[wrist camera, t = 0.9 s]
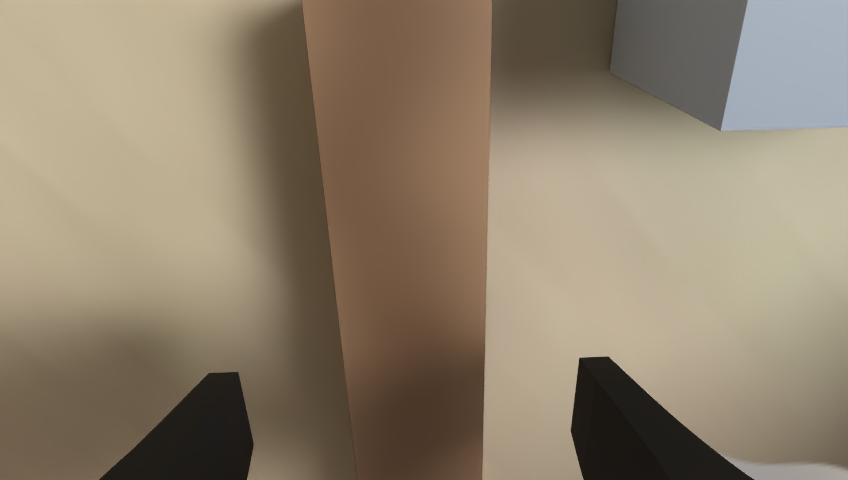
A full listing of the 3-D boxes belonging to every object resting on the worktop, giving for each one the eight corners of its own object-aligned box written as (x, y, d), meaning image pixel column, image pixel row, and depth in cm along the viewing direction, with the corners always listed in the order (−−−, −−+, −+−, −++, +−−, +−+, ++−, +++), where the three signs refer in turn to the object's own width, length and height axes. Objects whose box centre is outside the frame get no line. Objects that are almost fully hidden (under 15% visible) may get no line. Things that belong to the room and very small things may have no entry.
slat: (471, -18, 13) (492, -13, 9) (468, 487, 20) (479, 587, 16) (327, -14, 13) (301, -6, 9) (375, 491, 20) (370, 592, 16)
